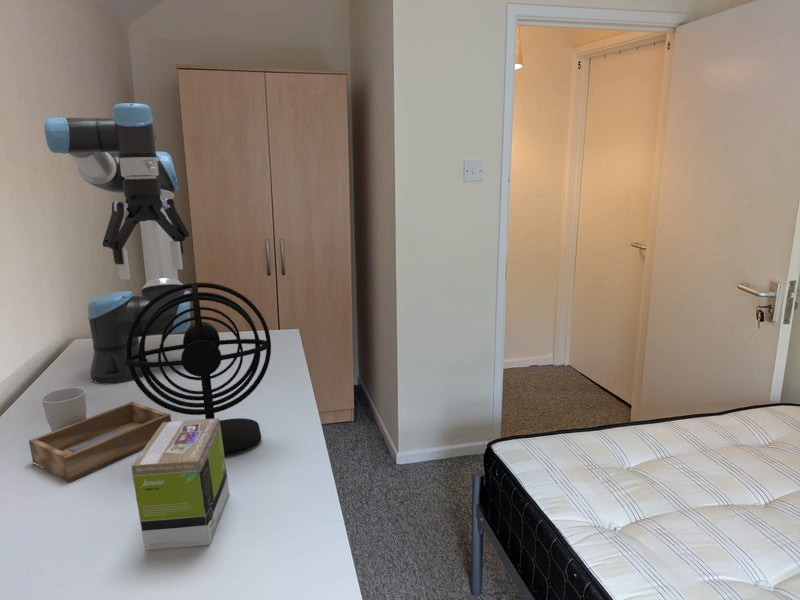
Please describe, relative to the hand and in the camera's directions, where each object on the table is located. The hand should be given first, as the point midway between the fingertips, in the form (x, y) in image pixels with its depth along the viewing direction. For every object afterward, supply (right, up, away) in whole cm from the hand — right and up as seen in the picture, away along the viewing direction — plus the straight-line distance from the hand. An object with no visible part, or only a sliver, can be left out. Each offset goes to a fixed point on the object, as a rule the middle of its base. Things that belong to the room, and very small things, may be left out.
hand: (152, 273), depth 130 cm
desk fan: (+17, -36, -10) cm, 41 cm away
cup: (-16, -36, -5) cm, 40 cm away
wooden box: (-5, -37, -11) cm, 39 cm away
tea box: (+22, -42, -36) cm, 60 cm away
